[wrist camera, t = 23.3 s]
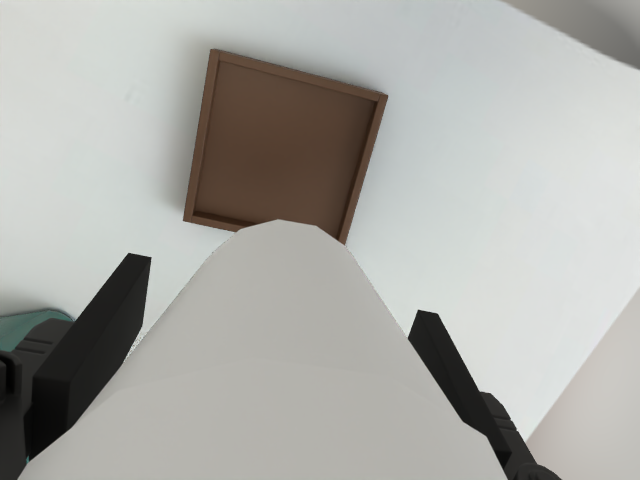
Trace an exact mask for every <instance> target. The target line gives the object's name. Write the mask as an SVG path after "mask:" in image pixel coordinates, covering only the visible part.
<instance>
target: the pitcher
mask: <svg viewBox="0 0 640 480" xmlns="http://www.w3.org/2000/svg"><path fill="white" fill-rule="evenodd" d="M49 318H56V319H61V320H67V321H73V320H72V319H71V318H70V317H68V316H66V315H64V314H63V313H61V312H57V311H52V310H47V311H40V312H34V313H28V314H21V315H15V316H8V317H2V318H0V350H3V351H7V352H11V351H12V350H13V349H15V347H16V346H17V345H18V344H19V342H20V341H21V340H23V339H24V337H25V336H26V335H27V334H28V333H29V331H30V330H31V329H32V328H33V327H34V326H36V325H38V324H40V323H42V322H44V321H46V320H47V319H49ZM26 463H29V456H28V458H27V459H26Z"/></svg>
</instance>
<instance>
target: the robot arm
mask: <svg viewBox="0 0 640 480" xmlns="http://www.w3.org/2000/svg"><path fill="white" fill-rule="evenodd" d="M151 258H152V257H147V256H142V255H137V254H131V253H128V254H127V255H126V257H125V258H124V259H123V261H122V262H121V263H120V264H119V266H118V267H117V268H116V270H115V271H114V272H113V273H112V275H111V276H110V277H109V279H108V280H107V281H106V283H105V284H104V285H103V286H102V288H101V289H100V290H99V292H98V293H97V294H96V295H95V297H94V298H93V299H92V301H91V302H90V303H89V304H88V306H87V307H86V308H85V310H84V311H83V312H82V313H81V315H80V316H79V317H78V319H77V320H76V321H75V322H73V321H67V320H61V319H56V318H49V319H47V320H46V321H44V322H42V323H40V324H38V325H36V326H34V327H33V328H32V329H31V330H30V331H29V333H28V334H27V335H26V336H25V337H24V339H23V340H21V341H20V342H19V344H18V345H17V346H16V347H15V349H13V350H12V351H11V352H7V351H3V350H0V480H17V479H18V478H19V476H20V475H21V473H22V471H23V470H24V468H25V467H26V465H27V463H26V459H27V458H28V456H29V462H30V461H31V460H32V459H34V458H35V457H36V456H37V455H39V454H40V453H41V452H42V451H44V450H45V449H46V448H47V447H48V446H50V445H51V444H52V443H53V442H55V441H56V440H57V439H58V438H60V437H61V436H62V435H63V434H65V433H66V432H67V431H68V430H70V429H71V428H72V427H73V426H74V424H75V423H76V422H77V421H78V419H79V418H80V417H81V416H82V414H83V413H84V412H85V411H86V409H87V408H88V407H89V406H90V404H91V403H92V402H93V401H94V399H95V398H96V397H97V396H98V394H99V393H100V392H101V391H102V389H103V388H104V387H105V386H106V384H107V383H108V382H109V381H110V379H111V378H112V377H113V376H114V374H115V373H116V372H117V371H118V369H119V368H120V367H121V365H122V363H123V362H124V360H125V358H126V356H127V354H128V352H129V350H130V348H131V346H132V344H133V343H134V341H135V339H136V337H137V335H138V333H139V331H140V329H141V327H142V324H143V317H144V309H145V302H146V295H147V287H148V280H149V273H150V265H151ZM408 340H409V342H410V343H411V345H412V346H413V348H414V349H415V351H416V352H417V354H418V355H419V357H420V358H421V360H422V361H423V363H424V364H425V366H426V367H427V369H428V370H429V372H430V373H431V375H432V376H433V378H434V379H435V381H436V382H437V384H438V385H439V387H440V388H441V390H442V391H443V393H444V395H445V396H446V398H447V399H448V401H449V402H450V404H451V405H452V407H453V408H454V410H455V411H456V413H457V414H458V416H459V417H460V419H461V420H462V422H464V423H465V424H467V425H469V426H470V427H472V428H473V429H475V430H477V431H478V432H480V433H481V434H483V435H485V436H486V437H487V439H488V441H489V443H490V445H491V447H492V449H493V451H494V453H495V455H496V457H497V459H498V461H499V463H500V465H501V467H502V469H503V471H504V473H505V475H506V477H507V479H508V480H561V479H560V478H559V477H558V476H557V475H556V474H555V473H554V472H552V471H550V470H549V469H547V468H546V467H543V466H541V465H538V464H537V463H536V461H535V460H534V458H533V456H532V454H531V453H530V451H529V449H528V448H527V446H526V444H525V442H524V441H523V439H522V437H521V435H520V434H519V432H518V431H516V427H515V425H514V423H513V422H512V421H511V420H510V419H511V418H510V417H509V415H508V413H507V411H506V410H505V408H504V406H503V405H502V404H501V403H500V402H499V401H498V400H497V399H496V398H495V397H494V396H493V395H492V394H491V393H485V392H479V390H478V388H477V386H476V384H475V382H474V380H473V378H472V377H471V375H470V373H469V371H468V369H467V367H466V365H465V364H464V362H463V360H462V358H461V356H460V354H459V352H458V351H457V349H456V347H455V345H454V343H453V341H452V339H451V338H450V336H449V334H448V332H447V330H446V328H445V326H444V325H443V323H442V321H441V319H440V317H439V315H438V314H437V313H432V312H427V311H422V310H418V311H417V314H416V317H415V320H414V322H413V325H412V328H411V331H410V333H409V336H408Z"/></svg>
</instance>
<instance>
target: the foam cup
mask: <svg viewBox="0 0 640 480" xmlns="http://www.w3.org/2000/svg"><path fill="white" fill-rule="evenodd" d="M17 480H508V479H507V477H506V475H505V473H504V471H503V469H502V467H501V465H500V463H499V461H498V459H497V457H496V455H495V453H494V451H493V449H492V447H491V445H490V443H489V441H488V439H487V437H486V436H485V435H483V434H481V433H480V432H478V431H477V430H475V429H473V428H472V427H470V426H469V425H467V424H465V423H464V422H462V420H461V419H460V417H459V416H458V414H457V413H456V411H455V410H454V408H453V407H452V405H451V404H450V402H449V401H448V399H447V398H446V396H445V395H444V393H443V391H442V390H441V388H440V387H439V385H438V384H437V382H436V381H435V379H434V378H433V376H432V375H431V373H430V372H429V370H428V369H427V367H426V366H425V364H424V363H423V361H422V360H421V358H420V357H419V355H418V354H417V352H416V351H415V349H414V348H413V346H412V345H411V343H410V342H409V340H408V339H407V337H406V335H405V334H404V332H403V331H402V329H401V328H400V326H399V325H398V323H397V322H396V320H395V319H394V317H393V316H392V314H391V313H390V311H389V310H388V308H387V307H386V305H385V304H384V302H383V301H382V299H381V298H380V296H379V295H378V293H377V292H376V290H375V289H374V287H373V286H372V284H371V283H370V281H369V279H368V278H367V276H366V275H365V273H364V272H363V270H362V269H361V267H360V266H359V264H358V263H357V261H356V260H355V258H354V257H353V255H352V254H351V252H349V251H348V249H347V247H346V246H344V245H343V244H342V243H340V242H339V241H337V240H336V239H334V238H333V237H331V236H330V235H329V234H327V233H326V232H324V231H323V230H321V229H320V228H318V227H317V226H314V225H308V224H302V223H296V222H291V221H285V220H279V219H277V220H274V221H270V222H266V223H262V224H258V225H254V226H250V227H246V228H242V229H240V230H239V231H238V232H236V233H235V234H234V235H233V236H232V237H230V238H229V239H228V240H227V241H226V242H224V243H223V244H222V245H221V246H220V247H218V248H217V249H216V250H215V251H214V252H212V255H211V256H209V257H208V258H207V259H206V261H205V262H204V263H203V264H202V266H201V267H200V268H199V269H198V271H197V272H196V273H195V274H194V276H193V277H192V278H191V279H190V281H189V282H188V283H187V284H186V286H185V287H184V288H183V289H182V291H181V292H180V293H179V294H178V296H177V297H176V298H175V299H174V301H173V302H172V303H171V304H170V306H169V307H168V308H167V309H166V311H165V312H164V313H163V314H162V316H161V317H160V318H159V319H158V321H157V322H156V323H155V324H154V326H153V327H152V328H151V329H150V331H149V332H148V333H147V334H146V336H145V337H144V338H143V339H142V341H141V342H140V343H139V344H138V346H137V347H136V348H135V349H134V351H133V352H132V353H131V354H130V356H129V357H128V358H127V359H126V361H125V362H124V363H123V364H122V366H121V367H120V368H119V369H118V371H117V372H116V373H115V374H114V376H113V377H112V378H111V379H110V381H109V382H108V383H107V384H106V386H105V387H104V388H103V389H102V391H101V392H100V393H99V394H98V396H97V397H96V398H95V399H94V401H93V402H92V403H91V404H90V406H89V407H88V408H87V409H86V411H85V412H84V413H83V414H82V416H81V417H80V418H79V419H78V421H77V422H76V423H75V424H74V426H73V427H72V428H71V429H70V430H68V431H67V432H66V433H65V434H63V435H62V436H61V437H60V438H58V439H57V440H56V441H55V442H53V443H52V444H51V445H50V446H48V447H47V448H46V449H45V450H44V451H42V452H41V453H40V454H39V455H37V456H36V457H35V458H34V459H32V460H31V461H30V462H29V463H27V465H26V467H25V468H24V470H23V471H22V473H21V475H20V476H19V478H18V479H17Z"/></svg>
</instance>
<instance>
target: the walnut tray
mask: <svg viewBox="0 0 640 480" xmlns="http://www.w3.org/2000/svg"><path fill="white" fill-rule="evenodd" d="M387 99H388V95H386V94H385V93H382V92H378V91H374V90H370V89H366V88H363V87H359V86H355V85H351V84H347V83H344V82H340V81H336V80H332V79H328V78H325V77H321V76H317V75H313V74H309V73H306V72H302V71H298V70H294V69H290V68H287V67H283V66H279V65H275V64H271V63H268V62H264V61H260V60H256V59H252V58H249V57H245V56H241V55H237V54H233V53H230V52H226V51H222V50H218V49H210V55H209V62H208V68H207V74H206V80H205V86H204V93H203V99H202V105H201V111H200V118H199V124H198V130H197V136H196V142H195V149H194V155H193V161H192V167H191V173H190V180H189V186H188V192H187V198H186V204H185V211H184V217H183V221H185V222H190V223H195V224H199V225H204V226H209V227H213V228H218V229H223V230H228V231H232V232H238V231H239V230H240V229H242V228H246V227H250V226H254V225H258V224H262V223H266V222H270V221H274V220H277V219H279V220H285V221H291V222H296V223H302V224H308V225H314V226H317V227H318V228H320V229H321V230H323V231H324V232H326V233H327V234H329V235H330V236H331V237H333V238H334V239H336V240H337V241H339V242H340V243H342V244H343V245H344V246H345V243H346V240H347V236H348V233H349V229H350V226H351V223H352V219H353V216H354V212H355V209H356V205H357V202H358V199H359V195H360V192H361V188H362V185H363V181H364V178H365V175H366V171H367V168H368V164H369V161H370V157H371V154H372V151H373V147H374V144H375V140H376V137H377V133H378V130H379V126H380V123H381V120H382V116H383V113H384V109H385V106H386V102H387Z"/></svg>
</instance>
